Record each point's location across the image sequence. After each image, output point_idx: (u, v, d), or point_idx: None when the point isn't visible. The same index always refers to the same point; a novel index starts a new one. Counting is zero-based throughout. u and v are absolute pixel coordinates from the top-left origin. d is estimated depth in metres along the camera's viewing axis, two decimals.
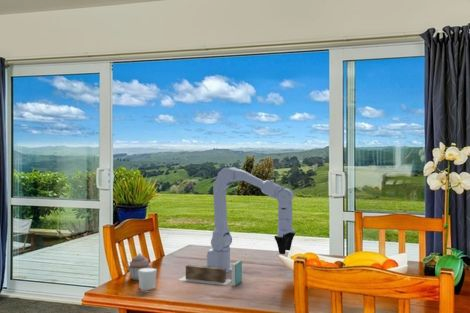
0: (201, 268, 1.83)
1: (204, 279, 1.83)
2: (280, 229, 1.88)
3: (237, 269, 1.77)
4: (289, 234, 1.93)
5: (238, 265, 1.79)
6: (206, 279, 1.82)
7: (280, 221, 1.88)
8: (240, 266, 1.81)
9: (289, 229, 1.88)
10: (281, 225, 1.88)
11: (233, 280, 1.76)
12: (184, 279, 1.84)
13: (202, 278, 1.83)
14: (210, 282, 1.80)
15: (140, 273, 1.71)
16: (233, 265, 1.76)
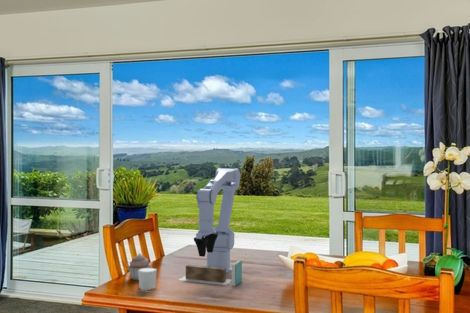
0: (201, 268, 1.83)
1: (204, 279, 1.83)
2: (200, 230, 1.82)
3: (237, 269, 1.77)
4: (211, 235, 1.87)
5: (238, 265, 1.79)
6: (206, 279, 1.82)
7: (200, 222, 1.82)
8: (240, 266, 1.81)
9: (209, 230, 1.81)
10: (201, 226, 1.81)
11: (233, 280, 1.76)
12: (184, 279, 1.84)
13: (202, 278, 1.83)
14: (210, 282, 1.80)
15: (140, 273, 1.71)
16: (233, 265, 1.76)
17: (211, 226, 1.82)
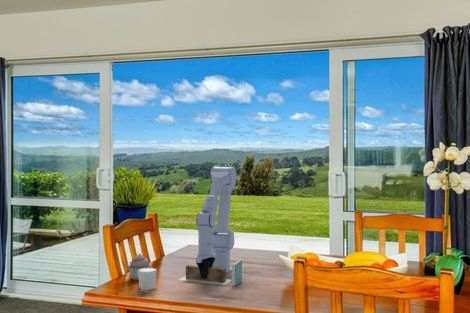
0: None
1: (204, 279, 1.83)
2: (200, 254, 1.82)
3: (237, 269, 1.77)
4: (209, 259, 1.85)
5: (238, 265, 1.79)
6: (206, 279, 1.82)
7: (200, 245, 1.82)
8: (240, 266, 1.81)
9: (209, 254, 1.81)
10: (201, 250, 1.81)
11: (233, 280, 1.76)
12: (184, 279, 1.84)
13: (202, 278, 1.83)
14: (210, 282, 1.80)
15: (140, 273, 1.71)
16: (233, 265, 1.76)
17: (211, 249, 1.82)
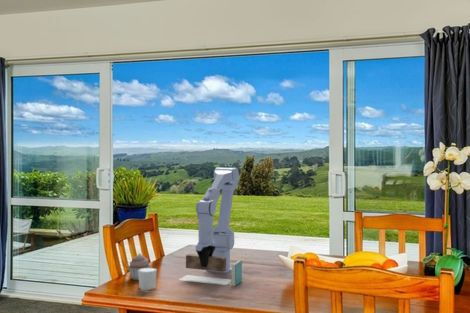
0: None
1: (204, 268, 1.83)
2: (200, 242, 1.82)
3: (237, 269, 1.77)
4: (209, 248, 1.85)
5: (238, 265, 1.79)
6: (206, 268, 1.82)
7: (200, 234, 1.82)
8: (240, 266, 1.81)
9: (209, 242, 1.81)
10: (201, 238, 1.81)
11: (233, 280, 1.76)
12: (184, 279, 1.84)
13: (202, 267, 1.83)
14: (210, 282, 1.80)
15: (140, 273, 1.71)
16: (233, 265, 1.76)
17: (211, 238, 1.82)
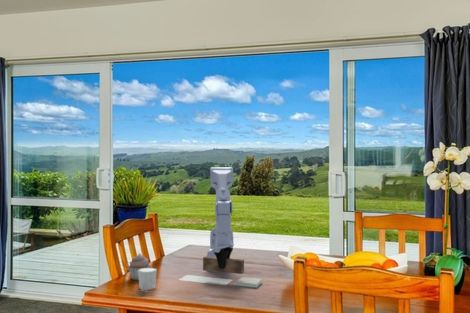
0: None
1: (222, 271, 1.80)
2: (218, 243, 1.79)
3: None
4: (226, 249, 1.82)
5: None
6: (224, 271, 1.80)
7: (218, 235, 1.79)
8: None
9: (227, 243, 1.79)
10: (219, 239, 1.79)
11: (240, 284, 1.75)
12: (184, 279, 1.84)
13: (220, 270, 1.80)
14: (210, 282, 1.80)
15: (140, 273, 1.71)
16: (255, 285, 1.73)
17: (229, 239, 1.79)
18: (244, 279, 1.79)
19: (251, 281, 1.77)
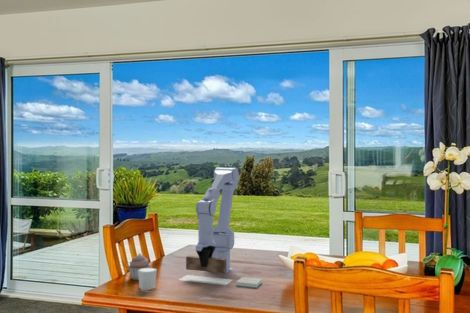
0: None
1: (204, 270, 1.83)
2: (200, 242, 1.82)
3: None
4: (209, 248, 1.85)
5: None
6: (206, 270, 1.82)
7: (200, 234, 1.82)
8: None
9: (209, 242, 1.81)
10: (201, 238, 1.81)
11: (240, 284, 1.75)
12: (184, 279, 1.84)
13: (202, 269, 1.83)
14: (210, 282, 1.80)
15: (140, 273, 1.71)
16: (255, 285, 1.73)
17: (211, 238, 1.82)
18: (244, 279, 1.79)
19: (251, 281, 1.77)
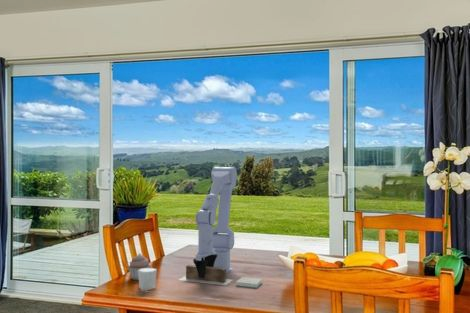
0: None
1: (204, 279, 1.83)
2: (200, 252, 1.82)
3: None
4: (211, 256, 1.87)
5: None
6: (206, 279, 1.82)
7: (200, 243, 1.82)
8: None
9: (209, 252, 1.81)
10: (201, 248, 1.81)
11: (240, 284, 1.75)
12: (184, 279, 1.84)
13: (202, 278, 1.83)
14: (210, 282, 1.80)
15: (140, 273, 1.71)
16: (255, 285, 1.73)
17: (211, 247, 1.82)
18: (244, 279, 1.79)
19: (251, 281, 1.77)
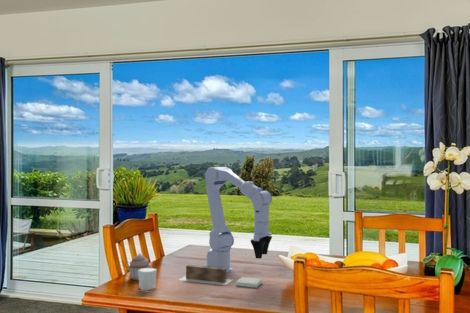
0: (201, 268, 1.83)
1: (204, 279, 1.83)
2: (256, 233, 1.83)
3: None
4: (266, 238, 1.89)
5: None
6: (206, 279, 1.82)
7: (256, 224, 1.83)
8: None
9: (266, 233, 1.83)
10: (257, 228, 1.83)
11: (240, 284, 1.75)
12: (184, 279, 1.84)
13: (202, 278, 1.83)
14: (210, 282, 1.80)
15: (140, 273, 1.71)
16: (255, 285, 1.73)
17: (267, 228, 1.84)
18: (244, 279, 1.79)
19: (251, 281, 1.77)
